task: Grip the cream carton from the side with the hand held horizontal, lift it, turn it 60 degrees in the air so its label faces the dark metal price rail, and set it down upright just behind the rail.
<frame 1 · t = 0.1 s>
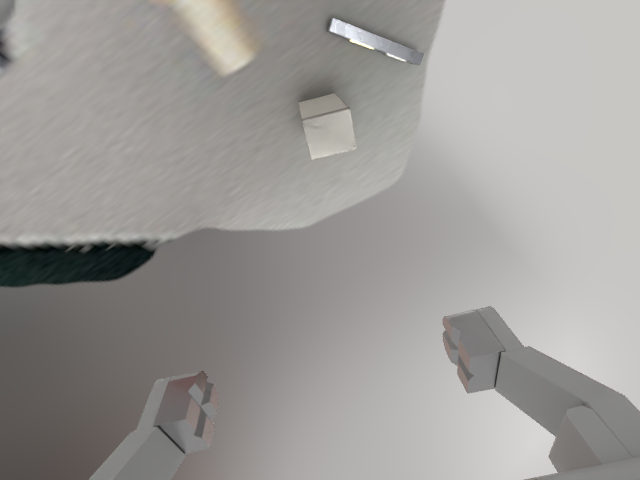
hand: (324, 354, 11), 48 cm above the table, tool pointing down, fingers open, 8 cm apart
price rail: (372, 42, 47), on the table
carton: (319, 113, 52), on the table
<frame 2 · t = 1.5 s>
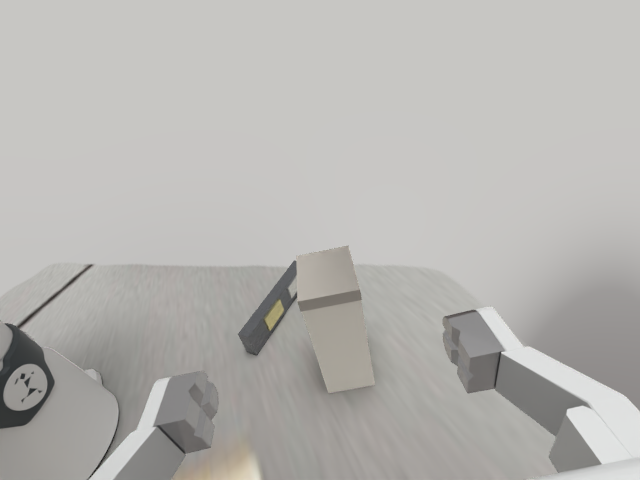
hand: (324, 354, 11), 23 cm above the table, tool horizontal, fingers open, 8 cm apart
price rail: (280, 311, 44), on the table
carton: (347, 364, 36), on the table
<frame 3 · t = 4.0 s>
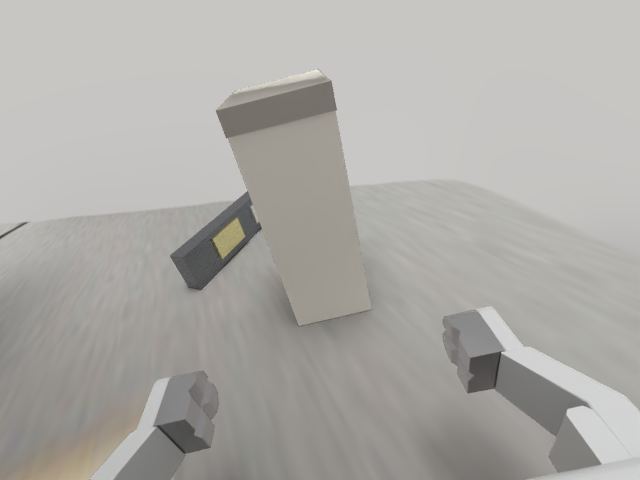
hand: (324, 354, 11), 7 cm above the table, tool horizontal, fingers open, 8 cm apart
price rail: (241, 241, 32), on the table
carton: (329, 288, 24), on the table
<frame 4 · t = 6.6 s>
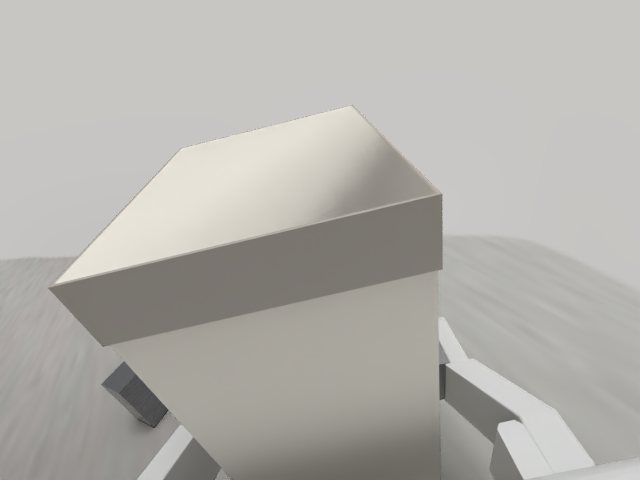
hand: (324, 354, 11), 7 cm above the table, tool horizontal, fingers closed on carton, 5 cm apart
price rail: (223, 326, 23), on the table
carton: (358, 458, 14), on the table, touching gripper
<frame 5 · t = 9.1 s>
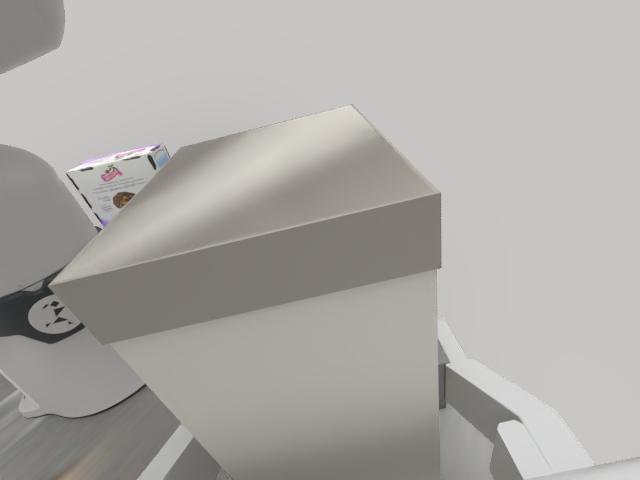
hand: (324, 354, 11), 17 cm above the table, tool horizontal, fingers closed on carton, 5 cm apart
candy box: (166, 242, 58), on the table
carton: (358, 457, 14), point 10 cm above the table, touching gripper
when the fingers open (8 cm above the table, at t = 11.7 s): carton drops 2 cm, on the table.
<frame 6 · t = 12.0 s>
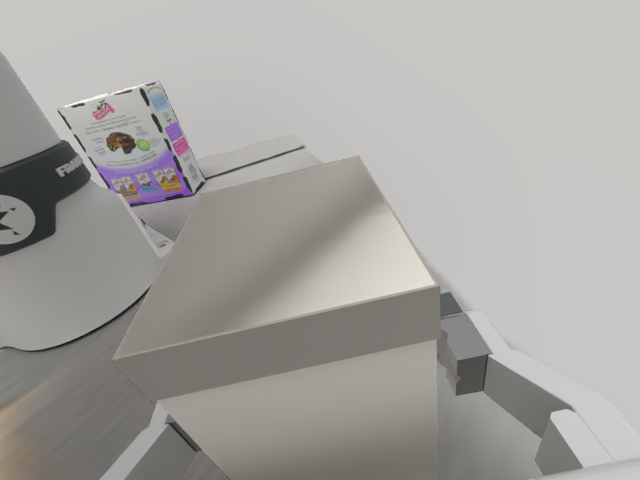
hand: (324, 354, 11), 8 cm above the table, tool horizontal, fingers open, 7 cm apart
price rail: (343, 365, 20), on the table
candy box: (164, 196, 54), on the table
carton: (362, 471, 15), on the table
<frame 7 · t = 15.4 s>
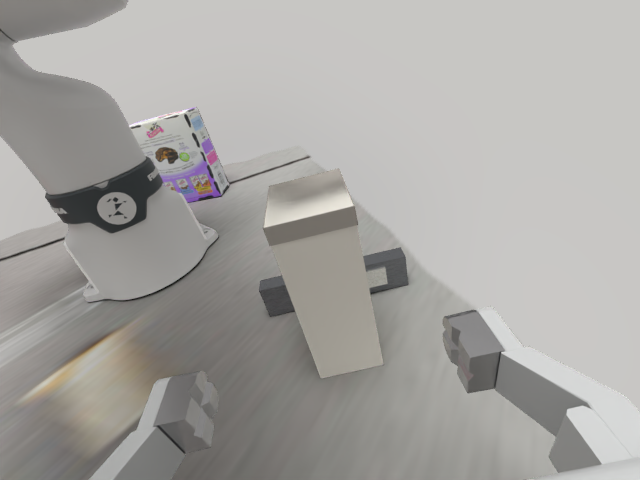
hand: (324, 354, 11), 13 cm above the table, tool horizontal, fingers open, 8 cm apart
price rail: (337, 295, 32), on the table
candy box: (197, 197, 67), on the table
carton: (346, 341, 27), on the table
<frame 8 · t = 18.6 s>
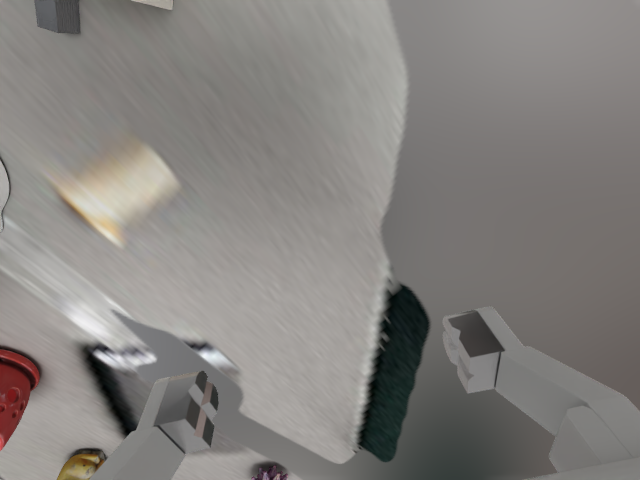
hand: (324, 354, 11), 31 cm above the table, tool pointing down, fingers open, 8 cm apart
plant pot: (8, 365, 53), on the table
flower: (269, 466, 81), on the table
decorative figurine: (89, 455, 71), on the table
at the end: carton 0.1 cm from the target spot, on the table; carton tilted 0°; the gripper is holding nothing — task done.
